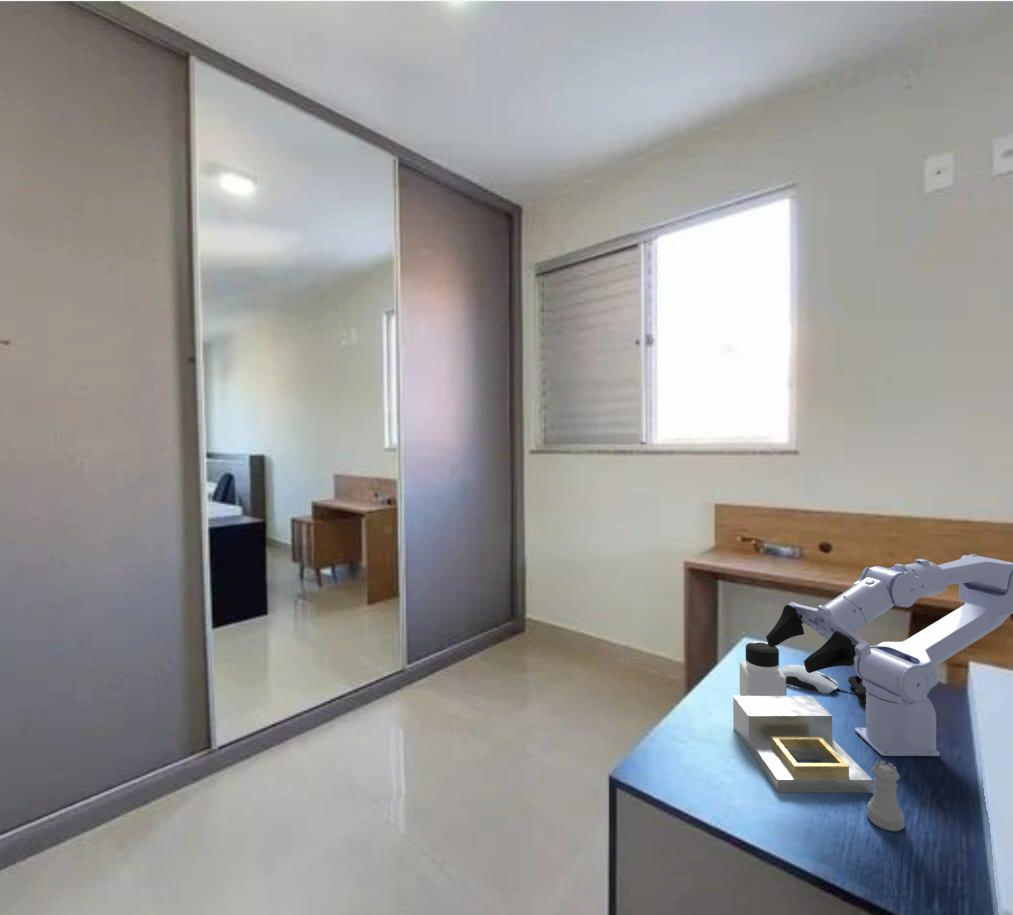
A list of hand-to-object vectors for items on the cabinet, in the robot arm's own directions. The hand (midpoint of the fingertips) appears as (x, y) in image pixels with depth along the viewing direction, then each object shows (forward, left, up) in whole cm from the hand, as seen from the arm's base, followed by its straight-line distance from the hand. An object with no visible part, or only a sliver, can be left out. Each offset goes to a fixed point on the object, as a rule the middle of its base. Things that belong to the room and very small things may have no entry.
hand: (786, 654), depth 88 cm
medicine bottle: (-4, -20, -19) cm, 28 cm away
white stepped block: (-2, -3, -19) cm, 19 cm away
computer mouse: (-19, -27, -19) cm, 38 cm away
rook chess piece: (-7, +13, -19) cm, 24 cm away
